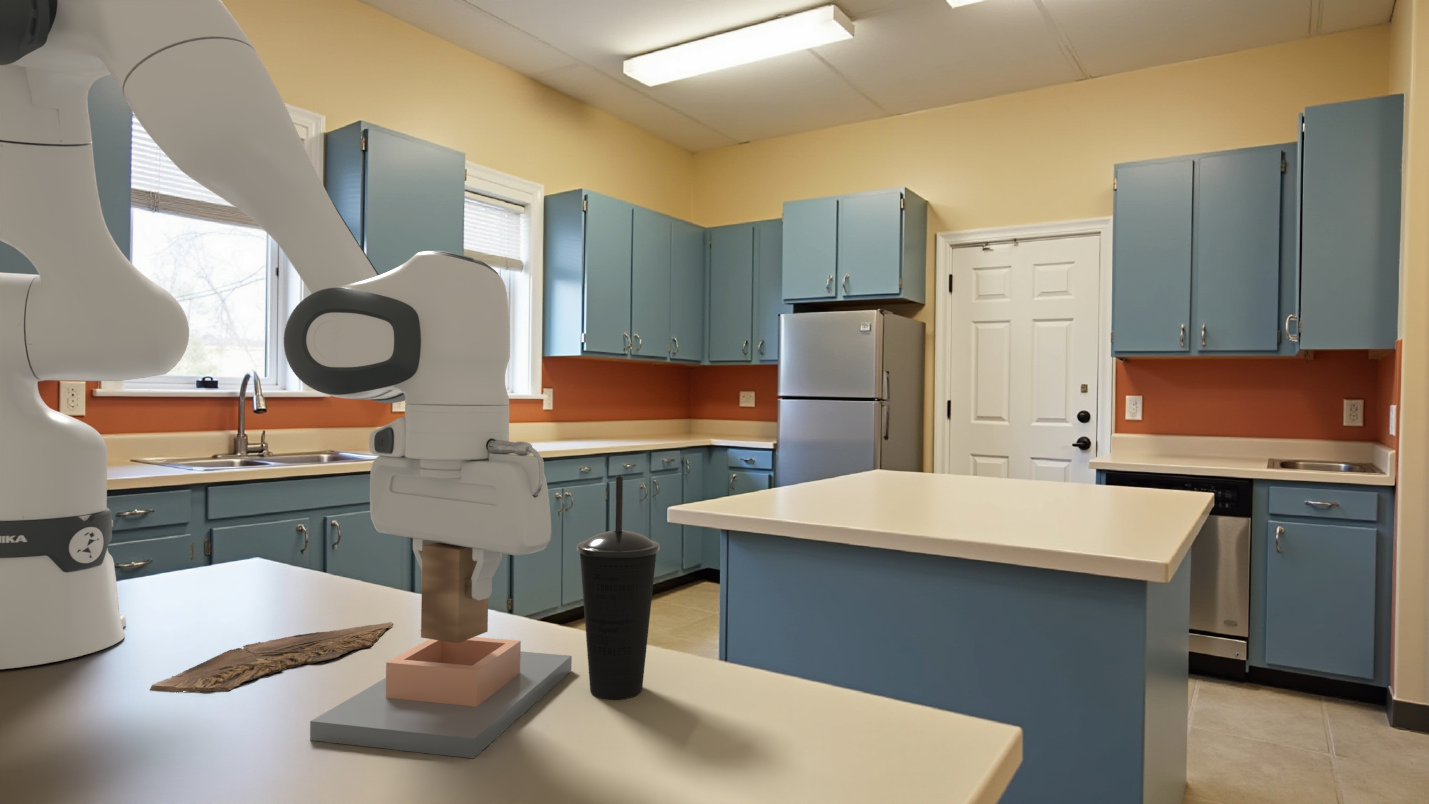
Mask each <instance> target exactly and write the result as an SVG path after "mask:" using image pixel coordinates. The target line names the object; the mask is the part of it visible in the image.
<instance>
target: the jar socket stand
mask: <svg viewBox="0 0 1429 804" xmlns="http://www.w3.org/2000/svg"><path fill="white" fill-rule="evenodd" d="M521 646H522V645H521V640H517V639H516V640H515V639H503V638H492V637H491V638H489V637H478V636H475V637H473V638H470V639H468V640H465V641H463V642H460V643H452V642H446V641H439V640H433V639H426V640H425V641H423V642H422V643H418V645H416V646H414V647H412V648H411V649H409V650H406V651H404V652H403V653H401V654H399V655H397V656H395V657H394V658H391V659H390V660H388V661H386V662H385V678H383V679H381V680H379V681H378V682H376V683H374V684H372V685H370V686H369V687H367V688H365V689H364V690H362V691H360V692H358V693H357V694H355V695H354V696H352V697H350V698H348V699H346V700H345V701H343V702H340V704H338V705H336V706H334V707H333V708H331V709H329V710H327V711H326V712H324V713H322V714H320V715H318V716H317V717H315V718H313V719H312V720H310V721H309V722H310V725H309V726H310V728H309V730H310V732H309V736H310V737H309V739H310V741H316V742H324V743H325V742H326V743H331V744H332V743H333V744H342V745H343V744H344V745H351V746H352V745H353V746H361V747H368V748H376V749H377V748H378V749H387V750H394V751H395V750H396V751H404V752H405V751H406V752H413V753H421V754H422V753H423V754H432V755H438V756H450V757H458V758H468V759H475V758H476V757H477V756H478V755H479V754H481V752H483V751H484V750H485V749H486V748H487V747H489V745H491V744H492V743H493V742H494V741H496V739H497V738H498V737H500V736H501V735H502V734H503V733H504V732H505V731H506V730H507V729H508V728H509V727H511V725H513V724H514V723H515V722H516V721H517V720H518V719H519V718H520V717H522V716H523V715H524V714H525V713H526V712H527V711H528V710H530V709H531V708H532V707H533V706H534V705H535V704H536V703H538V702H539V700H540V699H541V698H543V697H544V696H545V695H546V694H548V693H549V692H550V691H551V690H552V689H553V688H554V687H555V686H556V685H557V684H559V683H560V682H561V680H563V679H564V678H565V677H566V676H567V675H568V674H570V673H571V672H572V665H573V664H572V660H573V659H572V656H573V655H570V654H569V655H568V654H567V655H566V654H558V653H557V654H555V653H546V652H545V653H543V652H534V651H533V652H531V651H521V650H522V649H521Z"/></svg>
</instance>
